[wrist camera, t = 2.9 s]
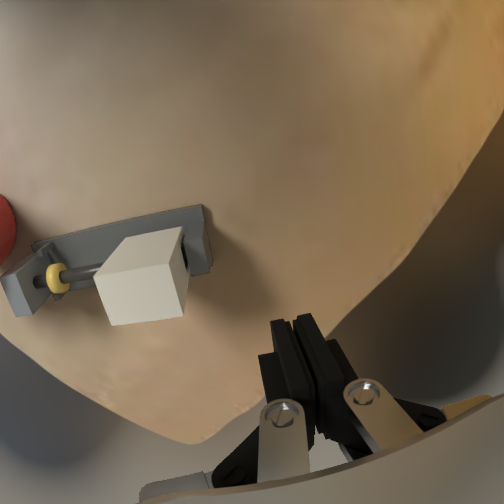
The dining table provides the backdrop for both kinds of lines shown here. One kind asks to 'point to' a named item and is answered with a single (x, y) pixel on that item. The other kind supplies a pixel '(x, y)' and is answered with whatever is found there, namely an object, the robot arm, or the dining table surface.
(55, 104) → the dining table surface
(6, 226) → the flower pot
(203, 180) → the dining table surface
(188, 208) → the grey slider rail
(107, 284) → the white sliding block
